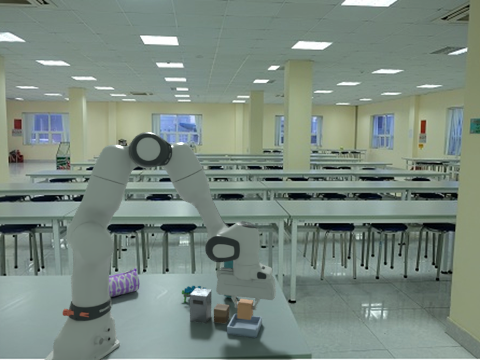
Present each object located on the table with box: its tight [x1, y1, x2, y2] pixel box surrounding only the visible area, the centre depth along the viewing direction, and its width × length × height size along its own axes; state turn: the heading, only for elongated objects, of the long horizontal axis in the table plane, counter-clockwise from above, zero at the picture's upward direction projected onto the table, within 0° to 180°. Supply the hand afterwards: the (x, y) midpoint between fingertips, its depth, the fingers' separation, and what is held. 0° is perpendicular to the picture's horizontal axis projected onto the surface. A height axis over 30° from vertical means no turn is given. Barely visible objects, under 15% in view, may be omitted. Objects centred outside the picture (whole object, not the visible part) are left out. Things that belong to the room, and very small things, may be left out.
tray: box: [226, 313, 263, 339], centre depth 136 cm, size 10×10×3 cm
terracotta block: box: [236, 298, 254, 320], centre depth 135 cm, size 4×4×5 cm
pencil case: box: [109, 267, 140, 298], centre depth 161 cm, size 22×9×10 cm, turn 131°
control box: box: [189, 287, 212, 324], centre depth 142 cm, size 7×6×10 cm
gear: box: [181, 285, 207, 303], centre depth 156 cm, size 11×6×10 cm
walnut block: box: [213, 303, 230, 325], centre depth 142 cm, size 4×4×5 cm
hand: (245, 308), depth 135 cm, fingers closed on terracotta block, 4 cm apart
